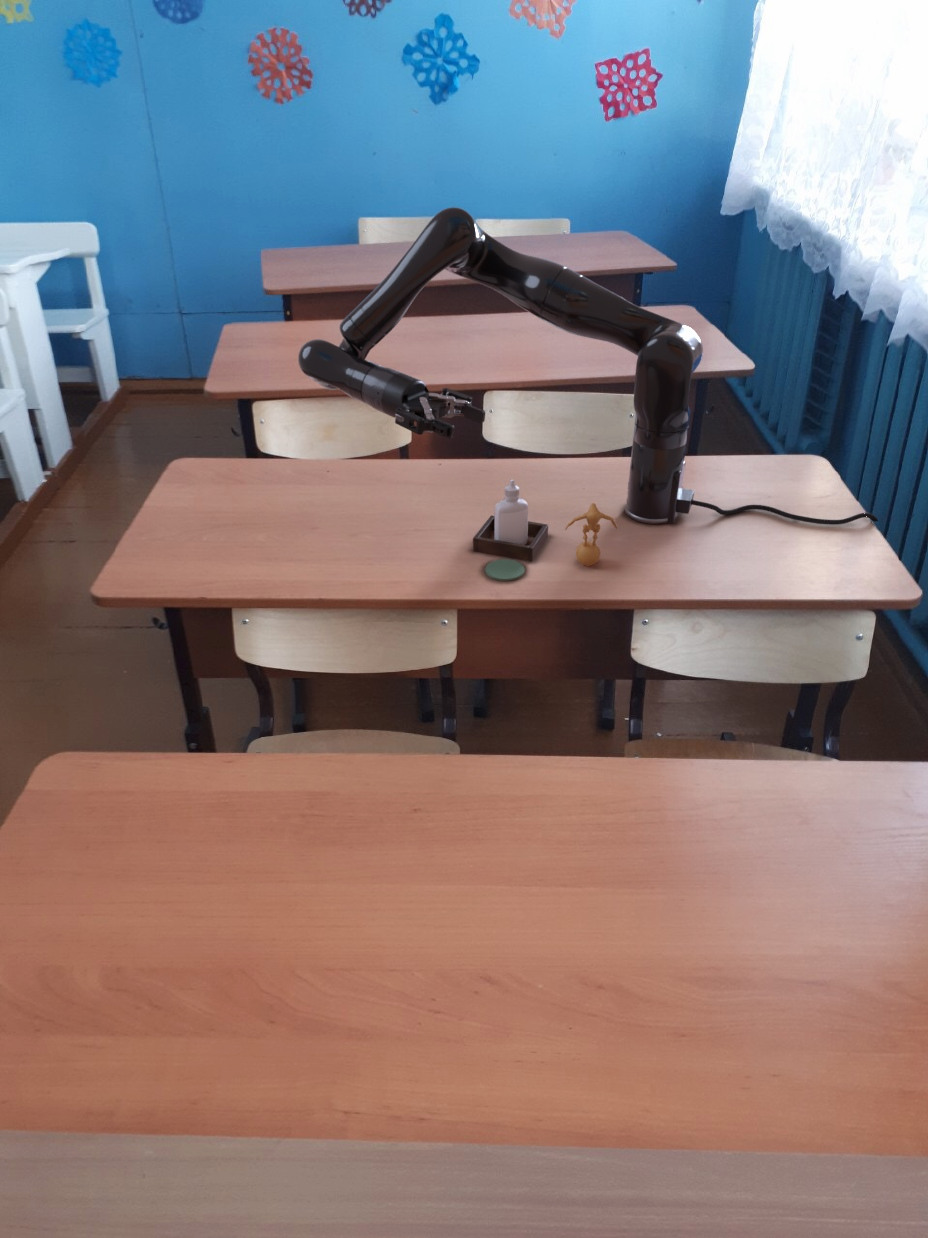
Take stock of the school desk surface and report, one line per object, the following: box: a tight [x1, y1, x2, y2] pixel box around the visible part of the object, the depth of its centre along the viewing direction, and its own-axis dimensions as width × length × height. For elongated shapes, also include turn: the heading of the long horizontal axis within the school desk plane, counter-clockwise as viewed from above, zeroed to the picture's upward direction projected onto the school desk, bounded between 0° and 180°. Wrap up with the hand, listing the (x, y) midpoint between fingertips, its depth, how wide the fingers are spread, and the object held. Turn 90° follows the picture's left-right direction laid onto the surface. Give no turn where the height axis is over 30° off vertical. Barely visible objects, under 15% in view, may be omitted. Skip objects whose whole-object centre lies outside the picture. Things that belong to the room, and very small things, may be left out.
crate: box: [472, 515, 549, 562], centre depth 150 cm, size 11×9×2 cm
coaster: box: [485, 558, 525, 582], centre depth 143 cm, size 6×6×1 cm
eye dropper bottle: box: [493, 479, 529, 545], centre depth 148 cm, size 4×6×12 cm
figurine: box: [564, 502, 618, 567], centre depth 141 cm, size 8×6×12 cm
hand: (468, 424), depth 144 cm, fingers open, 8 cm apart
